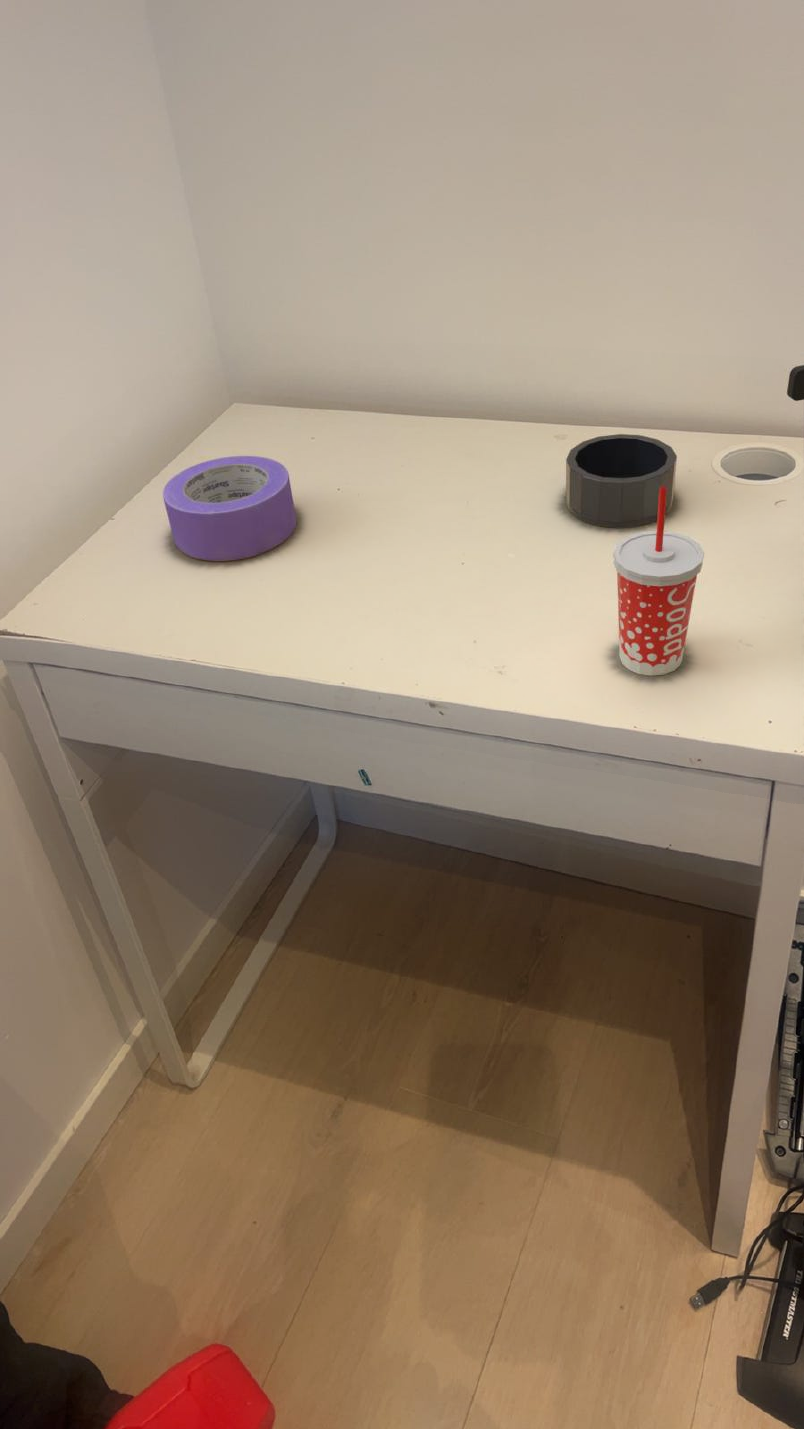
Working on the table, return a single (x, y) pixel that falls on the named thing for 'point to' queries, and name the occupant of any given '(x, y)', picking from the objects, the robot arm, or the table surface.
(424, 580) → the table surface
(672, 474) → the socket
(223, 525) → the tape roll
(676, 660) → the beverage cup
